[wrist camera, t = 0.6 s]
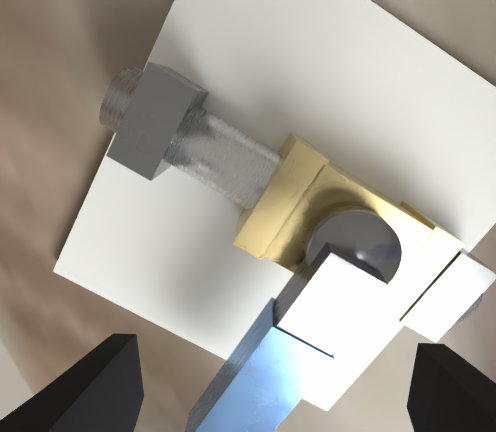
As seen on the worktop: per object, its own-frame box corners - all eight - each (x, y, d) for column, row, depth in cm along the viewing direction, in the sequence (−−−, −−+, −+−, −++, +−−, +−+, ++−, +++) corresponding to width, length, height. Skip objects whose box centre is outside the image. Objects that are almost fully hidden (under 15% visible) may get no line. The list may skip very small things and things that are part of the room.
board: (556, 137, 17) (570, 139, 16) (325, 400, 22) (327, 411, 22) (223, -94, 14) (220, -104, 14) (60, 264, 20) (52, 271, 19)
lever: (337, 189, 13) (349, 204, 11) (411, 233, 14) (434, 256, 12) (183, 409, 17) (172, 449, 15) (244, 439, 17) (241, 481, 15)
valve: (475, 245, 18) (528, 283, 14) (412, 315, 19) (447, 365, 16) (153, 46, 15) (119, 31, 12) (110, 142, 17) (68, 154, 13)
